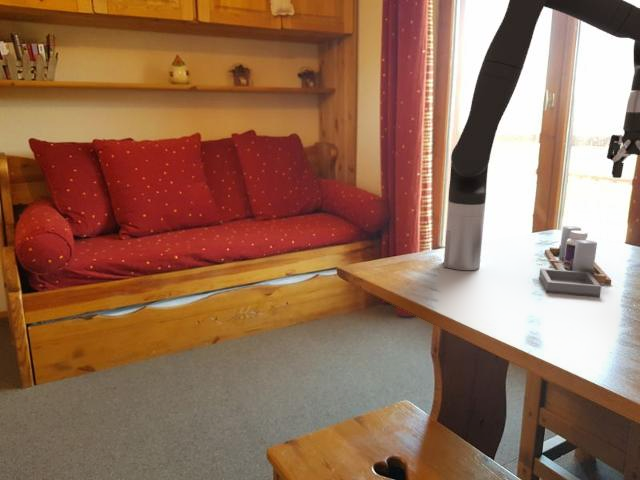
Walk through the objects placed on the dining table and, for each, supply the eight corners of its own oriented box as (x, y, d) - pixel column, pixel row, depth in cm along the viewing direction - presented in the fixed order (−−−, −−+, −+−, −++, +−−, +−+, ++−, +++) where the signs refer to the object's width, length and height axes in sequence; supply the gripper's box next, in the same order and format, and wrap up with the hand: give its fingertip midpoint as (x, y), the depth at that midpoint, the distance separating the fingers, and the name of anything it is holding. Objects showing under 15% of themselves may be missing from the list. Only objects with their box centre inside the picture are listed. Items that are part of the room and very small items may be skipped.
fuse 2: (573, 279, 127) (578, 243, 124) (569, 273, 131) (574, 239, 129) (594, 280, 125) (599, 244, 123) (589, 275, 130) (594, 240, 128)
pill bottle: (588, 271, 133) (593, 234, 131) (566, 269, 134) (570, 233, 132) (582, 265, 138) (587, 230, 136) (560, 264, 139) (565, 229, 137)
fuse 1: (560, 260, 143) (564, 228, 140) (557, 256, 147) (561, 225, 145) (578, 261, 142) (582, 230, 139) (574, 257, 146) (579, 226, 144)
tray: (546, 292, 117) (547, 282, 116) (539, 278, 127) (540, 268, 126) (599, 297, 114) (601, 286, 113) (587, 282, 124) (589, 272, 124)
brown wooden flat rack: (557, 280, 125) (559, 268, 125) (541, 253, 150) (542, 243, 149) (610, 284, 123) (612, 272, 122) (585, 256, 147) (586, 246, 146)
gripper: (606, 110, 126) (595, 176, 130) (662, 111, 113) (648, 184, 117) (629, 111, 128) (617, 176, 132) (685, 112, 116) (671, 184, 120)
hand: (632, 180), depth 125 cm, fingers open, 8 cm apart
